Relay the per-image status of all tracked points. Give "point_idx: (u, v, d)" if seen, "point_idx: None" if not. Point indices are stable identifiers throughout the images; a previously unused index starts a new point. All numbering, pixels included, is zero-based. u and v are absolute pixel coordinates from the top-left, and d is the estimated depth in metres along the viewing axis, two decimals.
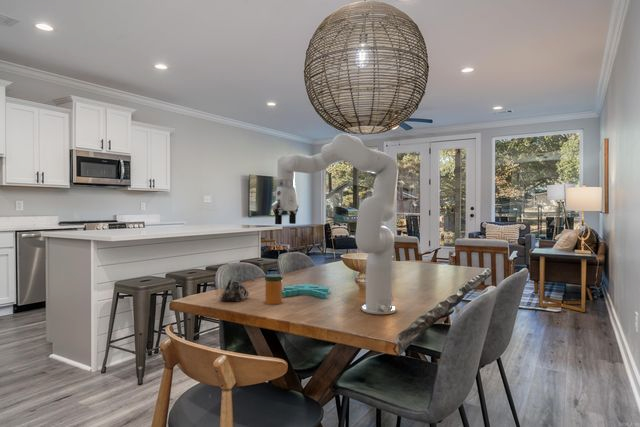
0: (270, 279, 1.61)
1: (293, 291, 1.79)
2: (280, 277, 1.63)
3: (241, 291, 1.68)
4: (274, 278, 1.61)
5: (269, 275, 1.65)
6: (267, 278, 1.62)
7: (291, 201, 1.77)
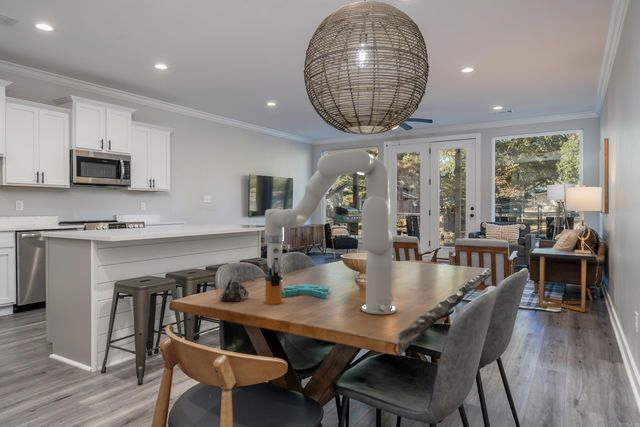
0: (270, 279, 1.61)
1: (293, 291, 1.79)
2: (280, 277, 1.63)
3: (241, 291, 1.68)
4: None
5: (269, 275, 1.65)
6: (267, 278, 1.62)
7: None
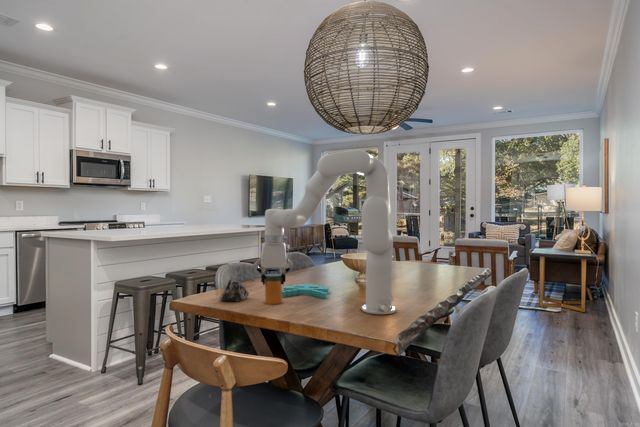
0: (281, 278, 1.64)
1: (293, 291, 1.79)
2: None
3: (241, 291, 1.68)
4: (281, 276, 1.65)
5: (273, 275, 1.63)
6: (278, 278, 1.62)
7: None
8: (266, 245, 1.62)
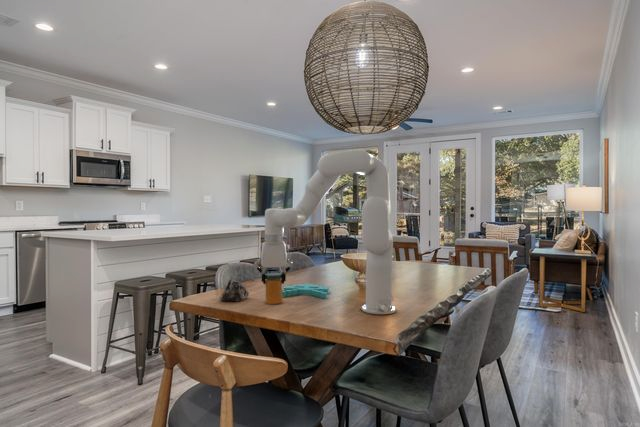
0: None
1: (293, 291, 1.79)
2: (266, 276, 1.63)
3: (241, 291, 1.68)
4: None
5: (274, 273, 1.67)
6: None
7: None
8: (266, 244, 1.62)
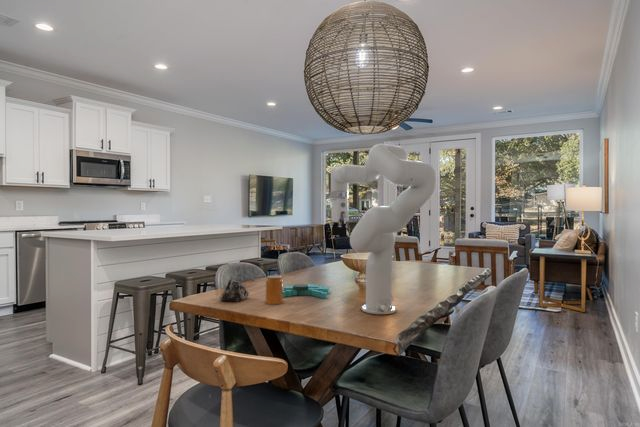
0: None
1: (293, 291, 1.79)
2: (294, 287, 1.79)
3: (241, 291, 1.68)
4: (293, 286, 1.81)
5: (301, 284, 1.83)
6: None
7: None
8: (332, 200, 1.76)
